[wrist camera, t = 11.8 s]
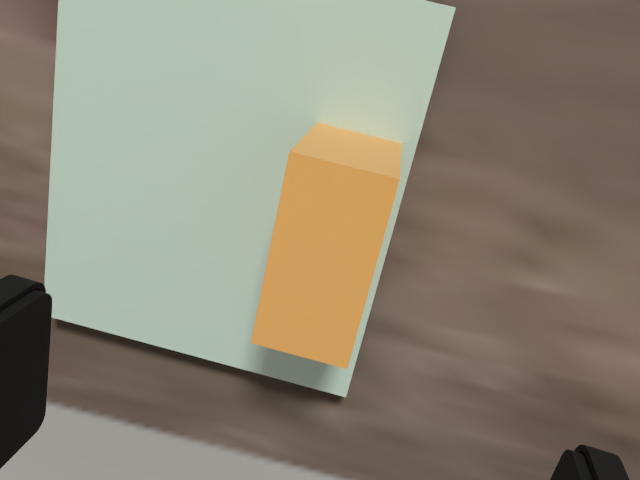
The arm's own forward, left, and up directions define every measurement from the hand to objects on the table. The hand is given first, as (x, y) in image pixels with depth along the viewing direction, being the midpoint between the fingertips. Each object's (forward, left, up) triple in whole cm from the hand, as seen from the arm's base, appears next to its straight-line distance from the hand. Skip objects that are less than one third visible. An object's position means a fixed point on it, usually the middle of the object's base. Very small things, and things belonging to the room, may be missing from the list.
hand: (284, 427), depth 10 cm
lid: (+5, 0, -12) cm, 13 cm away
